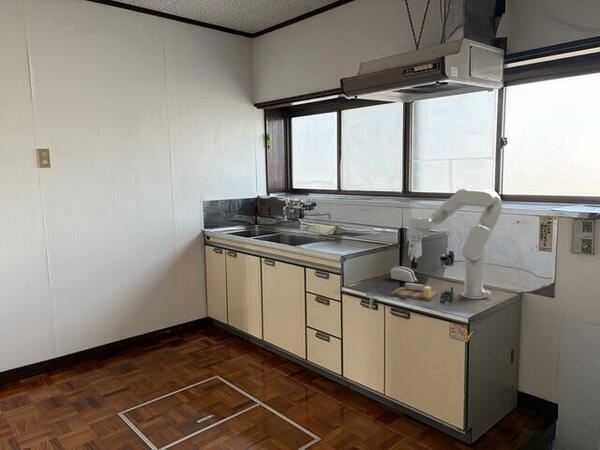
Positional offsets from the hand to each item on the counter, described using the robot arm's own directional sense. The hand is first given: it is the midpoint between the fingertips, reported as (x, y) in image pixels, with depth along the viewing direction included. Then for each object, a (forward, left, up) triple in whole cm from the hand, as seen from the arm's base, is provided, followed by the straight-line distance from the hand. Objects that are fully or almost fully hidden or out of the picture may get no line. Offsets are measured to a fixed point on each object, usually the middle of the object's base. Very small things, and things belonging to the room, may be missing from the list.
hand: (414, 268), depth 272 cm
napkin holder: (+14, -16, -13) cm, 25 cm away
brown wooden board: (-5, +11, -13) cm, 18 cm away
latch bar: (-4, +7, -11) cm, 14 cm away
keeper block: (-13, +15, -11) cm, 23 cm away
